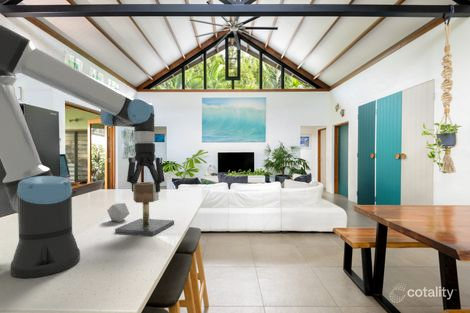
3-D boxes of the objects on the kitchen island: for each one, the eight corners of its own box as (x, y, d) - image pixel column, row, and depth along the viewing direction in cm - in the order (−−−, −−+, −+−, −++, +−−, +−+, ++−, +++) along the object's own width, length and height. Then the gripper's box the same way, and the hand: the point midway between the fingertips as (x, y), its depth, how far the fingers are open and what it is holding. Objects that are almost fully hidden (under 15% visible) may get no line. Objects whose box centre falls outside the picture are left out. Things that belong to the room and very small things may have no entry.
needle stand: (153, 235, 96) (152, 194, 96) (115, 232, 100) (114, 193, 100) (174, 223, 111) (173, 188, 111) (140, 221, 115) (139, 188, 115)
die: (133, 220, 120) (129, 202, 124) (124, 215, 112) (121, 195, 117) (115, 228, 119) (112, 208, 124) (105, 223, 111) (102, 202, 116)
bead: (149, 203, 101) (148, 184, 100) (130, 202, 103) (130, 184, 102) (160, 199, 108) (160, 182, 108) (142, 198, 110) (142, 181, 110)
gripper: (173, 142, 106) (174, 199, 107) (128, 143, 111) (129, 197, 112) (163, 141, 99) (165, 202, 99) (115, 143, 104) (117, 201, 104)
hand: (146, 200), depth 105 cm, fingers closed on bead, 8 cm apart
